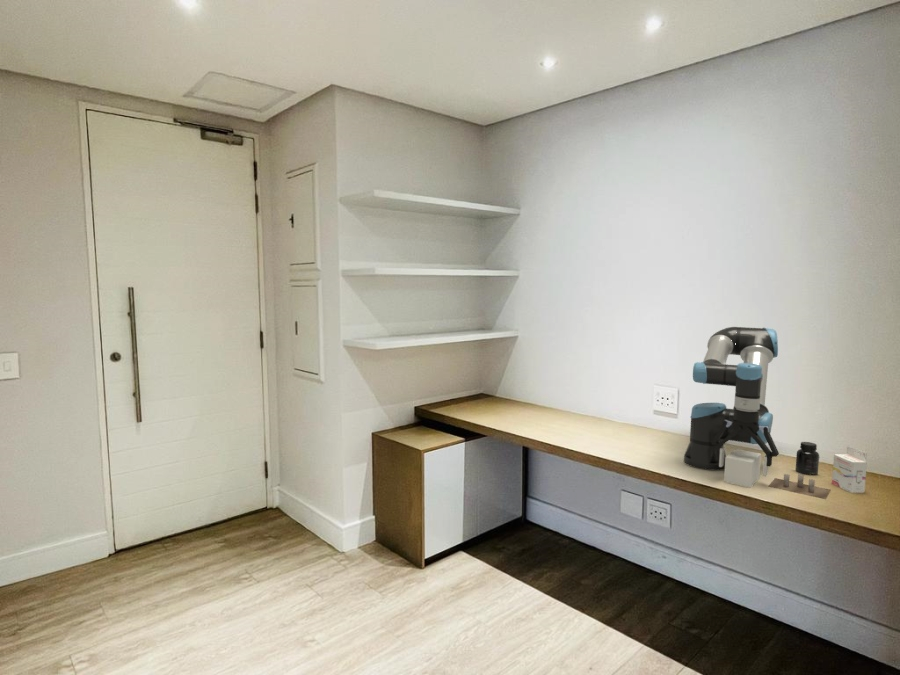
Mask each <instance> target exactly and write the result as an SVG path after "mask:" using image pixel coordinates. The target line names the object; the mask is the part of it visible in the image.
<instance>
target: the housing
mask: <svg viewBox="0 0 900 675" xmlns="http://www.w3.org/2000/svg"><path fill="white" fill-rule="evenodd" d="M761 463H762V453H759V452H753V451H749V450H748V451H747V450H742V449H737V448H736V449H734V450H733V451H731V453H729V454H728V455H726V457H725V469H724V474H723V483H727V484H732V485H735V486H739V487H744V488H752V487H753V486H754V485H755V484H756V483H757V481H758V480H760V477H761V465H762V464H761Z"/></svg>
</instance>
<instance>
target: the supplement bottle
mask: <svg viewBox="0 0 900 675" xmlns="http://www.w3.org/2000/svg"><path fill="white" fill-rule="evenodd" d="M817 447H818V445H817V444H816V443H814V442H810V441H801V442H800V447H799V449H797V451H796V455H795V456H796V458H795V472H796V473H798V474H802V475H804V476H805V475H807V476H818V475H819V464H820V454H819V452H818V451H817Z"/></svg>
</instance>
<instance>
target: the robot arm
mask: <svg viewBox="0 0 900 675" xmlns="http://www.w3.org/2000/svg"><path fill="white" fill-rule="evenodd" d="M736 332H737V333H736ZM731 340H732V341H731ZM778 340H779V339H778V334H777V331H776V330H775V329H774V328H768V327H767V328H766V327H762V328H761V327H741V326H731V327H729V326H728V327H725V328H722V329H721V330H718V331H716V332H715V333H713V335H711V336H710V337H709V339H708V341H707V346H706V348H707V351H706V353H705V356H704V358H703V361H701V362H700V361H699V362H698V361H697V362H695V363H694V364H693V368H692V380H693V381H694V383H699V384H703V385H705V384H706V385H717V386H718V385H719V386H727V387H728V386H729V387H730V386H731V387H735V389H734V390H735V391H734V392H735V393H734V405H733V408H727V405H726V404H725V403H722V402H721V403H720V402H701V403H697V404H694V405H693V406H692V408H691V414H690V430H689V431H690V432H689V443H688V445H687V448H686V450H685V452H684V454H683V455H684V456H683V463H684V464H686V465H688V466H690V467H692V468H696V469H699V470H700V469H701V470H704V471H705V470H708V471H721V470H725V457H726V456H727V454H726V450H725V446H724V445H725V444H727V442H729V441H732V442H739V443H745V444H746V443H747V444H751V445H758V447H759V448H761V450H762V452H763V453H764V454H765V456H763V470H762V476H763V477H767V476H768V470H769V467H772V464H773V462H772V461H773V457H778V455H779V454H780V452H779V451H778V448H777V446H776V444H775V442H774V439H773V437H772V435H771V432H772V426H773V421H774V420H773V419H774V415H773V414H772V413H771V412H769V408H768V407H767V406H766V405H765V404H766V395H767V394H766V393H767V392H766V391H767V383H768V372H769V371H768V369H769V364H770V363H771V362H772V361H773V360H774V358H777V357H778V354H779V345H778ZM735 343H736V345H735ZM729 355H733V356H734V355H735V356H740V359H741V360H742V361H743V362H741V363H738V364H737V365H736V364H727V360H728V357H729ZM768 446H769V447H768Z"/></svg>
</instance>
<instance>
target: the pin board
mask: <svg viewBox="0 0 900 675" xmlns="http://www.w3.org/2000/svg"><path fill="white" fill-rule="evenodd" d="M804 479H805V474H801V473H798V474H797V482H795V481H791V480H790V474H788V473H784V474H783V479H781V478H777V477H775V478H774V479H772V481H771V482H770V483H769V485H768V486H767V487H770V488H773V489H778V490H782V491H786V492H791V493H796V494H800V495H804V496H808V497H814V498H819V499H823V500H827V498H828V496H829V494H830V493H831V489H829V488H824V487H819V486H815V485H816V484H815V483H816V480H815V479H813V478H809V479H808V484H805V483H804Z"/></svg>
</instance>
